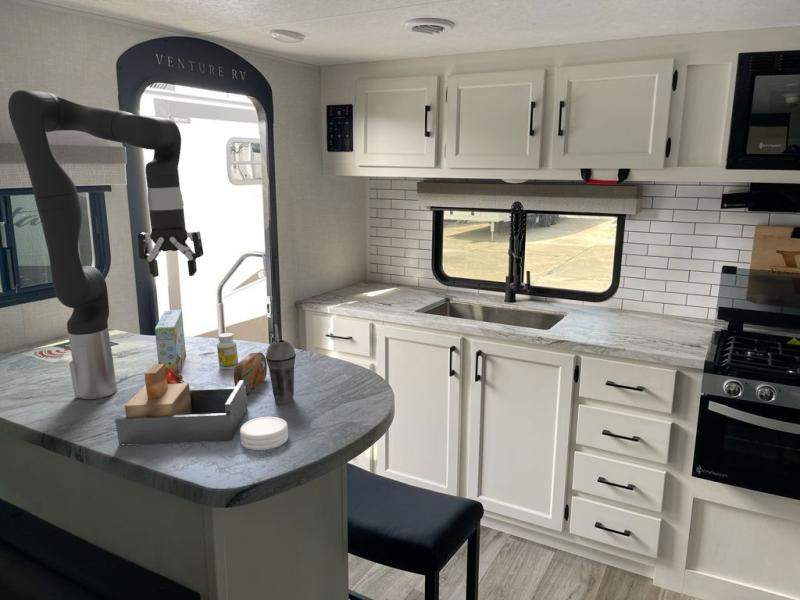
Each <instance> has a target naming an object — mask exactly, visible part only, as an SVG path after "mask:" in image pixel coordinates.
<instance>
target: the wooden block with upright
mask: <svg viewBox="0 0 800 600" xmlns="http://www.w3.org/2000/svg"><path fill="white" fill-rule="evenodd" d="M144 381H145V384H144V385H143V386H142V388H140V390H139V391H138V392H136V394H135V395H134V396H133V397H131V399H129V400H128V402H127V403H126V404H125V405H124V410H125V417H140V416H166V415H190V413H191V412H192V407H191V398H190V389H191V388H190V383H189V382H187V383H185V382H182V383H180V384H167V377H166V369H165V364H158V363H154V364H153V365H152V366H150V367H149V368H148V370H146V371H145V372H144Z"/></svg>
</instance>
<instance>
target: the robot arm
mask: <svg viewBox="0 0 800 600" xmlns="http://www.w3.org/2000/svg"><path fill="white" fill-rule="evenodd" d="M7 107H8V115H9V119H10V123H11V125H12V127H13V130H14V134H15V136H16V139H17V141H18V144H19V147H20V150H21V152H22V155H23V158H24V159H23V160H24V161H25V165H26V169H27V173H28V175H29V180H30V183H31V187H32V192H33V197H34V200H35V204H36V208H37V212H38V216H39V219H40V223H41V227H42V232H43V236H44V240H45V244H46V247H47V253H48V259H49V267H50V273H51V281H52V286H53V290H54V293H55V296H56V298H57V300H58V302H60V303H61V304H62V305H63V306H65V307H67V308H69V309H73V310H72V313H71V316H70V318H69V319H68V320H67V322H66V330H67V334H68V341H69V345H70V346H69V347H70V353H71V358H72V360H71V361H70V362H69V370H70V376H71V382H72V388H73V395H74V398H76V399H77V398H79V399H83V400H94V399H96V400H97V399H102V398H105V397H108V396H110V395H113V394H115V393H116V392H117V391H118V386H117V385H118V384H117V380H116V379H117V378H116V372H115V363H114V358H113V351H112V344H111V337H110V331H109V324H108V320H109V316H110V305H109V294H108V287H107V282H106V279H105V276H104V274H103V273H102V272H101V271H100V270H99V269H98V268H96V267H95V266H91V265H82V262H81V261H82V260H81V258H80V251H79V240H80V233H81V227H82V218H83V210H82V207H81V202H80V201H81V200H80V197H79V194H78V189H77V186H76V184H75V183H74V181H73V179H72V178H71V177H70V175H69V173H68V172H67V171H66V170H65V168H63V166H62V165H61V164H60V163H59V161H58V159H56V157H55V155H54V153H53V152H52V149H51V146H50V143H49V139H48V137H47V133H52V132H57V131H58V132H59V131H76V132H82V133H86V134H89V135H91V136H92V137H96V138H99V139H101V140H106V141H111V142H116V143H122V144H128V145H131V146H134V147H136V148H140V149H143V150H144V149H145V150H153V151H154V152H153V159H152V160H151V161H148V162H147V163H146V165H145V178H146V187H147V204H148V205H147V206H148V213H149V221H150V228H151V229H150V230H151V232H150V233H147V232H141V233H138V234H137V242H138V258H139V259H141V260H145V261H147V262H148V271H149V274H150V275H152V278H158V277H159V275H160V274H159V273H160V272H159V266H158V265H159V264H158V260H157V257H158V256H159V254H160V253H161V252H167V251H168V252H169V251H171V252H177V251H179V252H180V253H181V254H182V255H184V256H185V257H186V258H187V268H188V276H189V277H193V276H195V274H196V273H197V271H198V269H197V259H198V258H201V257H202V256H204V248H203V243H202V242H203V241H202V237H201V232H200V231H199V230H195V231H193V232H192V231H189V232H188V230H187V228H186V220H185V210H184V201H183V195H182V191H181V185H180V184H181V183H180V176H179V174H180V173H179V165H180V164H179V163H180V158H181V151H182V135H181V131H180V129H179V126H178V125H177V123H176V122H175V121H174V120H172V119H171V118H168V117H159V116H157V117H154V116H145V115H144V116H143V115H137V114H134V113H131V112H129V111H128V112H127V111H125V110H118V109H113V108H107V107H101V106H98V107H97V106H91V105H85V104H81V103H77V102H75V101H72V100H69V99H66V98H65V97H61V96H59V95H56V94H54V93H51V92H48V91H39V90H30V89H29V90H27V89H19V90H16V91H14V92H12V93H11V95H10V96H9V99H8V104H7ZM188 238H189V239H190V241H191V242H192V243H193V249H194V251H193V250H192V249H191V247H190V246H189V244H188V243H187V242H186V241H187V240H188ZM150 240H151V241H152V242H153V243H154V244H155V245H154V246H153V248H152V249H151V251H150V253H149V249H148V248H149V247H148V244H149V242H150Z"/></svg>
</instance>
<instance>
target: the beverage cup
mask: <svg viewBox="0 0 800 600" xmlns="http://www.w3.org/2000/svg"><path fill="white" fill-rule="evenodd" d="M274 330H275V337H276V340H274V341H273V342H271V343H270V344H269V345H268V347H267V349H266V352H265V353H266V355H265V359H266V363H267V367H268V371H269V377H270V383H271V389H272V394H273V399H274V403H276V404H278V405H287V404H291V403H293V401H294V394H295V391H294V390H295V363H296V357H297V354H296V351H295V348H294V346H293V345H292V344H291V343H290V342H289V341H287V340H284V339H279V330H278V325H277V323H275V324H274Z"/></svg>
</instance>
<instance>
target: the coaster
mask: <svg viewBox="0 0 800 600" xmlns="http://www.w3.org/2000/svg"><path fill="white" fill-rule="evenodd" d="M241 425H242V426H241V427H240V429H239V434H240V443H241V446H242V447H243V448H246V449H248V450H252V451H268V450H272V449H276V448H278V447H280V446H282V445H284V444H285V443H286V442H287V441H288V440H289V428H288V426H289V425H288V422H287V421H286V420H285V419H283V418H281V417H279V416H276V417H275V416H263V417H262V416H261V417H257V418H253V419H250V420H248V421H246V422H244V423H243V424H241Z"/></svg>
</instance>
